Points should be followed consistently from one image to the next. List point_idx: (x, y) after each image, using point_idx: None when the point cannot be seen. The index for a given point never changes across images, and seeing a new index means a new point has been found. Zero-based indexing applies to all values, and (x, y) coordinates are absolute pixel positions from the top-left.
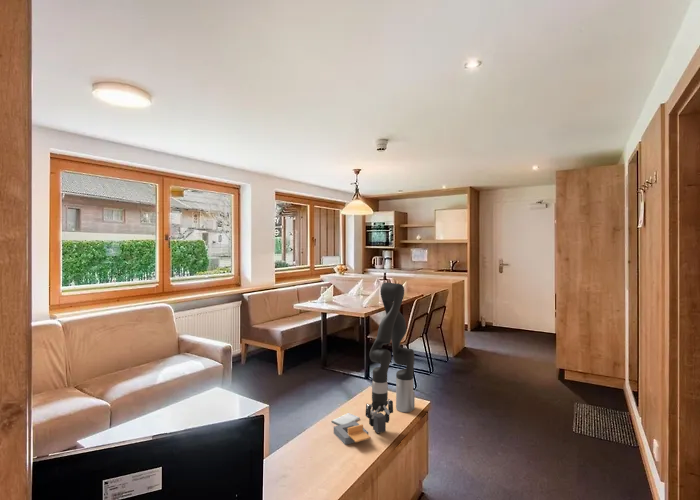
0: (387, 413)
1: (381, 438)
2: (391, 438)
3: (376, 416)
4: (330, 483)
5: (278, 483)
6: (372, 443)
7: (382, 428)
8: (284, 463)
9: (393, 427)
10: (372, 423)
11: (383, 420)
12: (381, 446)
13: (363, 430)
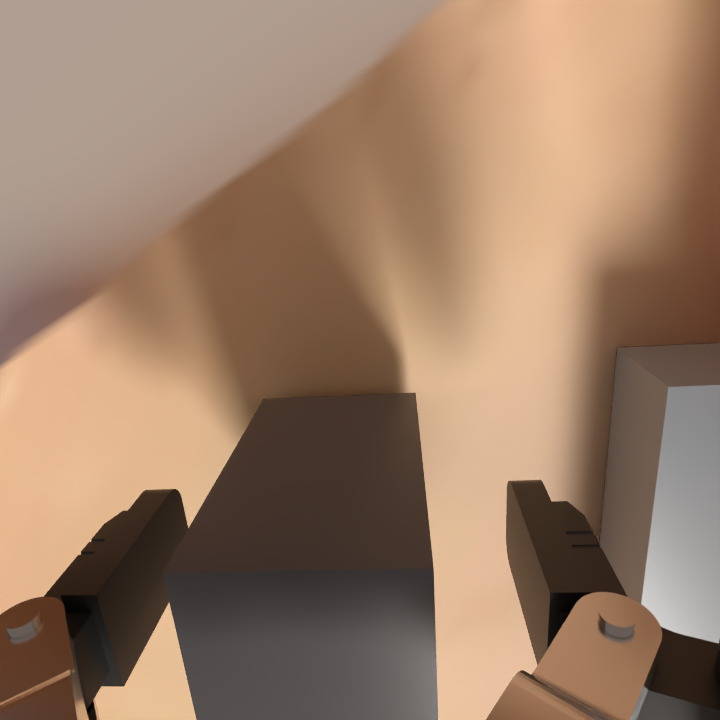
0: (65, 640)
1: (416, 266)
2: (261, 196)
3: (422, 650)
4: None
5: None
6: (647, 181)
7: (317, 422)
8: None
9: (90, 471)
10: (555, 515)
11: (265, 505)
12: (567, 11)
13: (708, 472)
